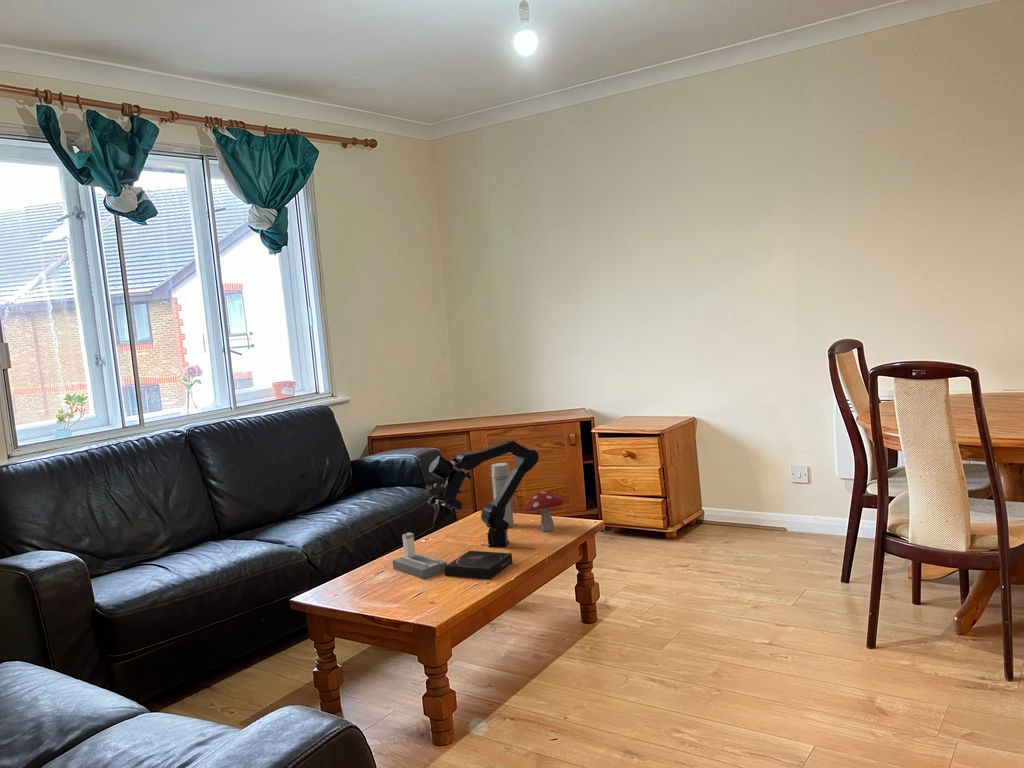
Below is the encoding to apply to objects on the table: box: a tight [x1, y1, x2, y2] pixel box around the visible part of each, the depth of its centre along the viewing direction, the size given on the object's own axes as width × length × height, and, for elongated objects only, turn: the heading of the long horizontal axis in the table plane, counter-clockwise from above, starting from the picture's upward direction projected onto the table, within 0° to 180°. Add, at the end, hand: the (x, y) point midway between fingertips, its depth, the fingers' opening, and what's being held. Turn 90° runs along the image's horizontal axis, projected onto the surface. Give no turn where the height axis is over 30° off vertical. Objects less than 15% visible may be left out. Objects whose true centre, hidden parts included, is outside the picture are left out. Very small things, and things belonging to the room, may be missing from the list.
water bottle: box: [491, 462, 518, 528], centre depth 318 cm, size 9×8×25 cm
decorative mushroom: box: [522, 491, 565, 532], centre depth 307 cm, size 16×16×15 cm
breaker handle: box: [401, 532, 416, 558], centre depth 277 cm, size 3×3×8 cm
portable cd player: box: [443, 550, 514, 581], centre depth 268 cm, size 16×17×4 cm
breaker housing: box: [392, 552, 448, 580], centre depth 273 cm, size 10×18×4 cm, turn 41°
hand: (434, 525), depth 279 cm, fingers closed
